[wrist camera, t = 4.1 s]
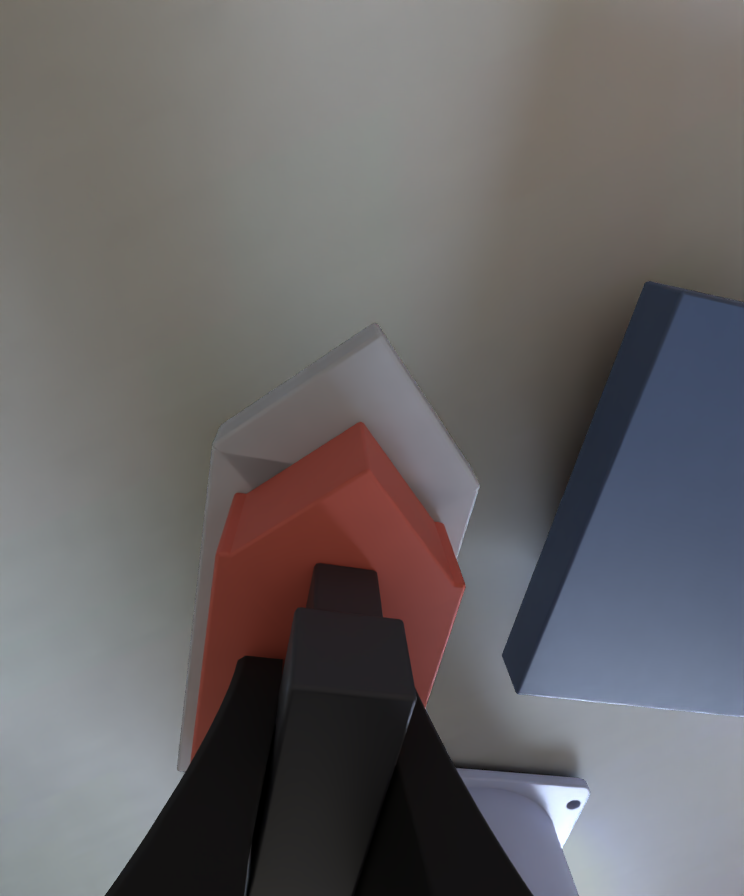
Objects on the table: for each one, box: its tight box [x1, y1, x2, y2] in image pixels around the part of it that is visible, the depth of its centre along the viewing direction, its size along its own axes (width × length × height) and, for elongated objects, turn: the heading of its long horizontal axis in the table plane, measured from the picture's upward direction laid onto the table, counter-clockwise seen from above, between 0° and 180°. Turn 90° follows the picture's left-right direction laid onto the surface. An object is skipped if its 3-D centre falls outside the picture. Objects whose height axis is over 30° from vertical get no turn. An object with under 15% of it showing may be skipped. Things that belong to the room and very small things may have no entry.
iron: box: [177, 323, 480, 896], centre depth 10 cm, size 11×5×6 cm, turn 168°
